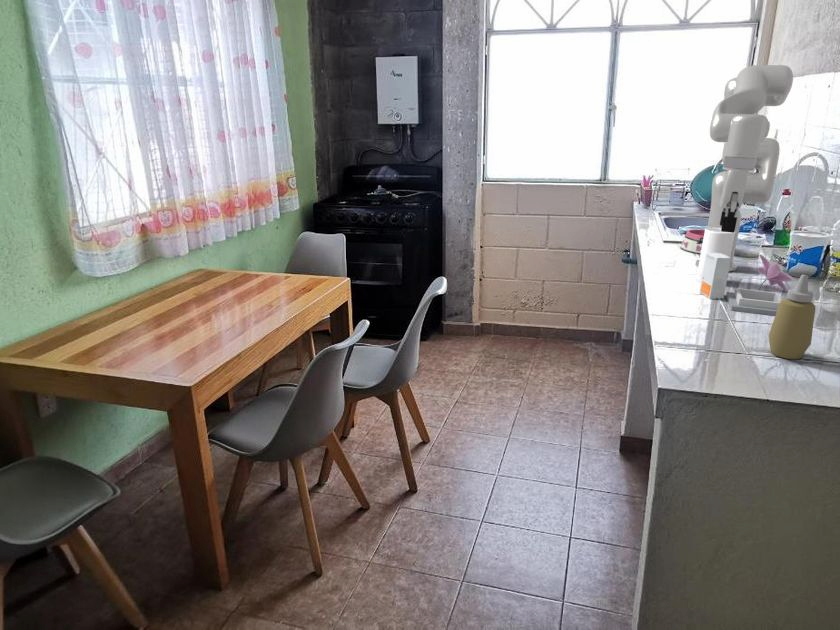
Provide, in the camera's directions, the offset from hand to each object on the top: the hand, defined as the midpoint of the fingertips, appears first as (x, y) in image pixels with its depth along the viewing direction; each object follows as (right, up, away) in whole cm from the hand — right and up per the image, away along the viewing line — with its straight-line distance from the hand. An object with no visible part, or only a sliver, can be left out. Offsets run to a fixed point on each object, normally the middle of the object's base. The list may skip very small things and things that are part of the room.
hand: (726, 228), depth 165 cm
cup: (+6, -13, +23) cm, 27 cm away
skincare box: (0, -18, +8) cm, 20 cm away
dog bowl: (+24, +1, +64) cm, 68 cm away
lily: (+21, -16, +16) cm, 31 cm away
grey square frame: (+8, -21, 0) cm, 23 cm away
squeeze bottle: (-4, -32, -32) cm, 46 cm away
